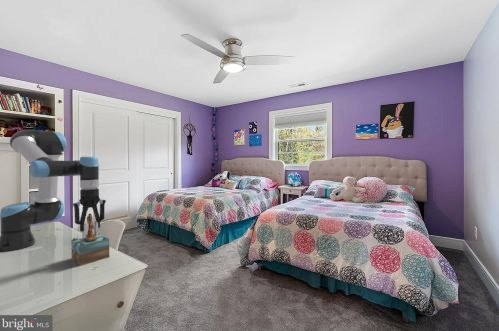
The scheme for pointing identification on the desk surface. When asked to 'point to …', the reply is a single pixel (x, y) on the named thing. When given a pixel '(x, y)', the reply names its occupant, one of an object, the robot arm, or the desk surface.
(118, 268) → the desk surface
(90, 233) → the lever handle backplate
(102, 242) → the teal and brown block
